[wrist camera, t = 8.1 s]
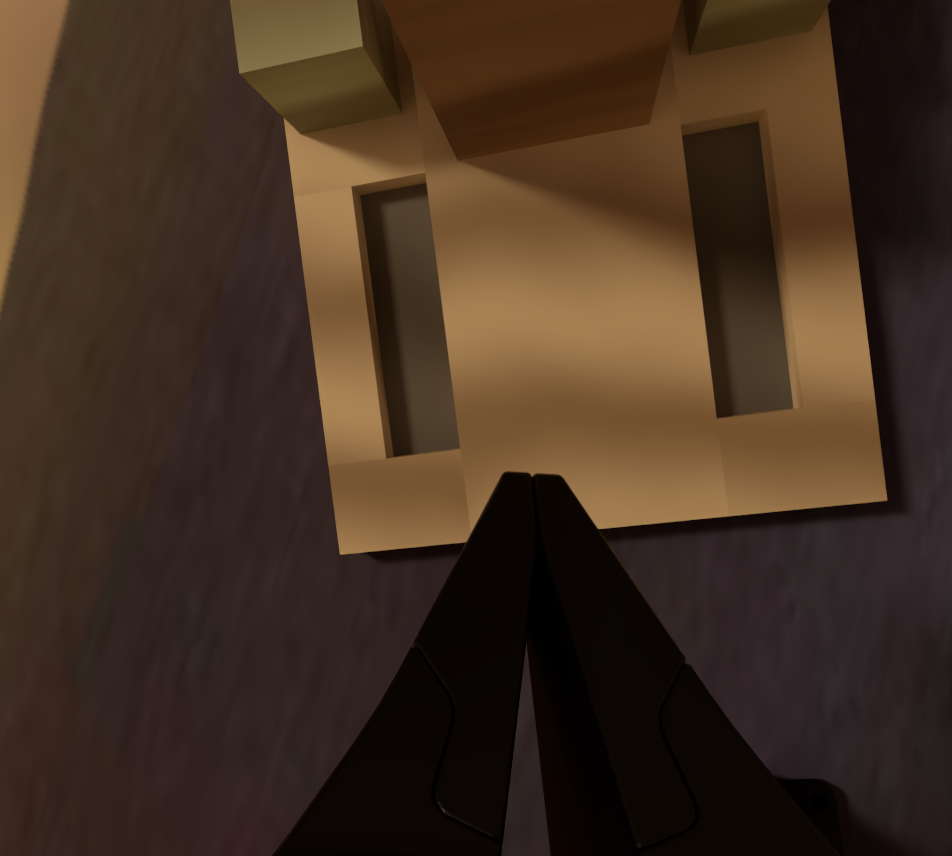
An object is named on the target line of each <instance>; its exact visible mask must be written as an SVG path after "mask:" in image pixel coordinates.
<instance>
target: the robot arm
mask: <svg viewBox="0 0 952 856" xmlns="http://www.w3.org/2000/svg"><path fill="white" fill-rule="evenodd" d="M526 642H527V651H528V660H529V668H530V677H531V686H532V695H533V704H534V712H535V721H536V730H537V739H538V748H539V757H540V765H541V774H542V783H543V792H544V801H545V809H546V818H547V827H548V836H549V845H550V853H551V856H843V853H842V845H841V837H840V828H839V820H838V812H837V804H836V799H835V796H834V794H833V793H832V791H831V790H830V788H829V787H828V786H827V785H826V784H825V783H824V782H822V781H821V780H818V779H795V780H776V778H775V777H774V776H773V775H772V774H771V772H770V771H769V770H768V769H767V768H766V766H765V765H764V764H763V763H762V761H761V760H760V759H759V758H758V756H757V755H756V754H755V753H754V751H753V750H752V749H751V748H750V746H749V745H748V744H747V743H746V741H745V740H744V739H743V738H742V736H741V735H740V734H739V733H738V731H737V730H736V729H735V727H734V726H733V725H732V724H731V722H730V721H729V719H728V718H727V717H726V715H725V714H724V712H723V711H722V710H721V708H720V707H719V705H718V704H717V703H716V701H715V700H714V699H713V697H712V696H711V694H710V693H709V692H708V690H707V689H706V687H705V686H704V684H703V683H702V681H701V680H700V678H699V677H698V675H697V674H696V672H695V671H694V669H693V668H692V666H691V665H690V664H689V663H685V661H686V658H685V656H684V655H683V654H682V652H681V651H680V649H679V648H678V646H677V645H676V643H675V642H674V640H673V639H672V637H671V636H670V634H669V633H668V631H667V630H666V628H665V627H664V625H663V624H662V622H661V621H660V620H659V618H658V617H657V615H656V614H655V612H654V611H653V609H652V608H651V606H650V605H649V603H648V602H647V600H646V599H645V597H644V596H643V594H642V593H641V591H640V590H639V589H638V587H637V586H636V584H635V583H634V581H633V580H632V578H631V577H630V575H629V574H628V572H627V571H626V569H625V568H624V566H623V565H622V563H621V562H620V560H619V559H618V558H617V556H616V555H615V553H614V552H613V550H612V549H611V547H610V546H609V544H608V543H607V541H606V540H605V538H604V537H603V535H602V534H601V532H600V531H599V529H598V528H597V526H596V525H595V524H594V522H593V521H592V519H591V518H590V516H589V515H588V513H587V512H586V510H585V509H584V507H583V506H582V504H581V503H580V501H579V500H578V498H577V497H576V495H575V494H574V493H573V491H572V490H571V488H570V487H569V485H568V484H567V482H566V481H565V479H564V478H563V477H562V476H561V475H559V474H547V473H536V474H534V475H533V476H532V475H531V474H530V473H528V472H515V471H505V472H504V473H503V474H502V475H501V477H500V479H499V481H498V483H497V485H496V486H495V488H494V490H493V492H492V494H491V496H490V498H489V500H488V502H487V504H486V505H485V507H484V509H483V511H482V513H481V515H480V517H479V519H478V521H477V523H476V525H475V526H474V528H473V530H472V532H471V534H470V536H469V538H468V540H467V542H466V544H465V545H464V547H463V549H462V551H461V553H460V555H459V557H458V559H457V561H456V563H455V564H454V566H453V568H452V570H451V572H450V574H449V576H448V578H447V580H446V582H445V583H444V585H443V587H442V589H441V591H440V593H439V595H438V597H437V599H436V601H435V602H434V604H433V606H432V608H431V610H430V612H429V614H428V616H427V618H426V620H425V622H424V623H423V625H422V627H421V629H420V631H419V633H418V635H417V637H416V639H415V641H414V643H413V647H411V648H410V649H409V651H408V653H407V655H406V657H405V659H404V661H403V663H402V664H401V666H400V668H399V670H398V672H397V674H396V675H395V677H394V679H393V681H392V682H391V684H390V686H389V688H388V689H387V691H386V693H385V695H384V696H383V698H382V700H381V702H380V703H379V705H378V707H377V708H376V710H375V711H374V713H373V714H372V716H371V717H370V719H369V720H368V722H367V723H366V725H365V726H364V728H363V729H362V731H361V732H360V734H359V735H358V737H357V738H356V740H355V741H354V743H353V744H352V746H351V747H350V748H349V750H348V751H347V753H346V754H345V755H344V757H343V758H342V760H341V761H340V762H339V764H338V765H337V767H336V768H335V770H334V771H333V772H332V774H331V775H330V777H329V778H328V779H327V781H326V782H325V784H324V785H323V786H322V788H321V789H320V791H319V792H318V794H317V795H316V796H315V798H314V799H313V801H312V802H311V803H310V805H309V806H308V808H307V809H306V810H305V812H304V813H303V815H302V816H301V817H300V819H299V820H298V822H297V823H296V825H295V826H294V827H293V829H292V830H291V831H290V833H289V834H288V836H287V837H286V838H285V840H284V841H283V842H282V844H281V845H280V846H279V848H278V849H277V850H276V851H275V853H274V854H273V855H272V856H501V853H502V849H501V847H502V843H503V836H504V827H505V819H506V810H507V802H508V793H509V785H510V776H511V768H512V759H513V750H514V742H515V733H516V725H517V716H518V708H519V699H520V691H521V682H522V674H523V665H524V657H525V648H526ZM684 663H685V664H684ZM815 794H823V798H822V799H821V800H820V801H819V802H811V801H810V800H811V797H812V796H813V795H815Z"/></svg>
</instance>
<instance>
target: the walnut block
mask: <svg viewBox="0 0 952 856" xmlns="http://www.w3.org/2000/svg"><path fill="white" fill-rule="evenodd" d="M381 1H382V3H383V5H384V7H385V9H386V11H387V13H388V16H389V18H390V20H391V22H392V24H393V26H394V28H395V30H396V32H397V34H398V37H399V39H400V41H401V43H402V45H403V47H404V49H405V51H406V53H407V55H408V58H409V60H410V62H411V64H412V66H413V68H414V70H415V72H416V74H417V77H418V79H419V81H420V83H421V85H422V87H423V89H424V91H425V93H426V95H427V98H428V100H429V102H430V104H431V106H432V108H433V110H434V112H435V114H436V116H437V119H438V121H439V123H440V125H441V127H442V129H443V131H444V133H445V135H446V138H447V140H448V142H449V144H450V146H451V148H452V150H453V152H454V154H455V156H456V159H457V161H459V160H464V159H470V158H475V157H480V156H485V155H490V154H496V153H501V152H506V151H511V150H517V149H522V148H527V147H532V146H537V145H543V144H548V143H553V142H558V141H564V140H569V139H574V138H579V137H584V136H590V135H595V134H600V133H605V132H611V131H616V130H621V129H626V128H631V127H637V126H642V125H647V124H649V123H650V119H651V115H652V111H653V107H654V103H655V99H656V95H657V92H658V88H659V84H660V80H661V76H662V72H663V68H664V64H665V60H666V57H667V53H668V49H669V45H670V41H671V37H672V33H673V29H674V25H675V22H676V18H677V14H678V10H679V6H680V2H681V0H381Z"/></svg>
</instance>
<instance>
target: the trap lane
mask: <svg viewBox="0 0 952 856" xmlns="http://www.w3.org/2000/svg"><path fill="white" fill-rule="evenodd" d="M830 1H831V0H681V2H680V6H679V10H678V14H677V18H676V22H675V25H674V29H673V33H672V37H671V41H670V45H669V49H668V53H667V57H666V60H665V64H664V68H663V72H662V76H661V80H660V84H659V88H658V92H657V95H656V99H655V103H654V107H653V111H652V115H651V119H650V123H649V124H647V125H642V126H637V127H631V128H626V129H621V130H616V131H611V132H605V133H600V134H595V135H590V136H584V137H579V138H574V139H569V140H564V141H558V142H553V143H548V144H543V145H537V146H532V147H527V148H522V149H517V150H511V151H506V152H501V153H496V154H490V155H485V156H480V157H475V158H470V159H464V160H459V161H457V159H456V156H455V154H454V152H453V150H452V148H451V146H450V144H449V142H448V140H447V138H446V135H445V133H444V131H443V129H442V127H441V125H440V123H439V121H438V119H437V116H436V114H435V112H434V110H433V108H432V106H431V104H430V102H429V100H428V98H427V95H426V93H425V91H424V89H423V87H422V85H421V83H420V81H419V79H418V77H417V74H416V72H415V70H414V68H413V66H412V64H411V62H410V60H409V58H408V55H407V53H406V51H405V49H404V47H403V45H402V43H401V41H400V39H399V37H398V34H397V32H396V30H395V28H394V26H393V24H392V22H391V20H390V18H389V16H388V13H387V11H386V9H385V7H384V5H383V3H382V1H381V0H230V3H231V11H232V19H233V27H234V34H235V42H236V50H237V58H238V65H239V73H240V74H241V75H242V76H243V77H244V78H245V79H246V80H247V81H248V82H249V83H250V84H251V85H252V86H253V87H254V88H255V89H256V90H257V91H258V92H259V93H260V94H261V95H262V96H263V97H264V98H265V99H266V100H267V101H268V102H269V103H270V104H271V105H272V106H273V107H274V108H275V109H276V110H277V111H278V112H279V113H280V114H281V115H282V116H283V117H284V123H285V131H286V139H287V146H288V154H289V162H290V170H291V177H292V185H293V193H294V201H295V208H296V216H297V224H298V232H299V240H300V247H301V255H302V263H303V271H304V278H305V286H306V294H307V302H308V310H309V317H310V325H311V333H312V341H313V348H314V356H315V364H316V372H317V379H318V387H319V395H320V403H321V411H322V418H323V426H324V434H325V442H326V449H327V457H328V465H329V473H330V481H331V488H332V496H333V504H334V512H335V519H336V527H337V535H338V543H339V550H340V555H341V554H352V553H362V552H372V551H382V550H392V549H402V548H412V547H423V546H433V545H443V544H453V543H463V542H467V540H468V538H469V536H470V534H471V532H472V530H473V528H474V526H475V525H476V523H477V521H478V519H479V517H480V515H481V513H482V511H483V509H484V507H485V505H486V504H487V502H488V500H489V498H490V496H491V494H492V492H493V490H494V488H495V486H496V485H497V483H498V481H499V479H500V477H501V475H502V474H503V473H504V472H505V471H515V472H528V473H530V474H531V475H532V476H533V475H534V474H536V473H547V474H559V475H561V476H562V477H563V478H564V479H565V481H566V482H567V484H568V485H569V487H570V488H571V490H572V491H573V493H574V494H575V495H576V497H577V498H578V500H579V501H580V503H581V504H582V506H583V507H584V509H585V510H586V512H587V513H588V515H589V516H590V518H591V519H592V521H593V522H594V524H595V525H596V526H597V528H598V529H605V528H615V527H625V526H636V525H646V524H656V523H666V522H676V521H686V520H696V519H707V518H717V517H727V516H737V515H747V514H757V513H767V512H778V511H788V510H798V509H808V508H818V507H828V506H838V505H849V504H859V503H869V502H879V501H887V493H886V485H885V477H884V469H883V460H882V452H881V444H880V436H879V427H878V419H877V411H876V403H875V394H874V386H873V378H872V370H871V361H870V353H869V345H868V337H867V328H866V320H865V312H864V304H863V295H862V287H861V279H860V271H859V262H858V254H857V246H856V238H855V229H854V221H853V213H852V205H851V196H850V188H849V180H848V172H847V163H846V155H845V147H844V139H843V130H842V122H841V114H840V106H839V97H838V89H837V81H836V73H835V64H834V56H833V48H832V40H831V31H830V23H829V15H828V7H827V6H828V4H829V3H830Z"/></svg>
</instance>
